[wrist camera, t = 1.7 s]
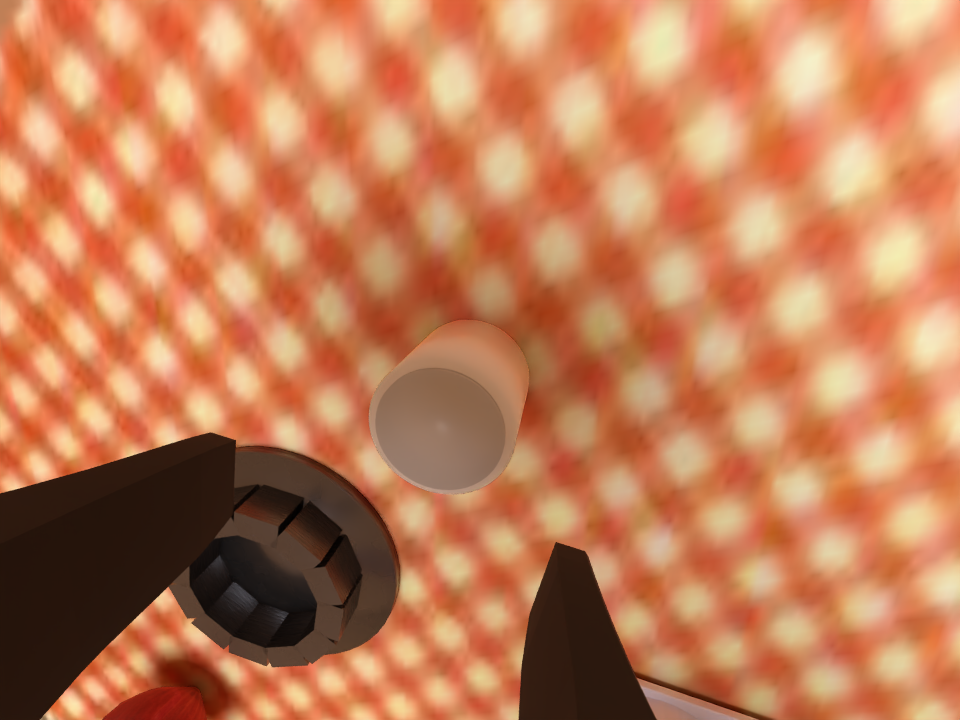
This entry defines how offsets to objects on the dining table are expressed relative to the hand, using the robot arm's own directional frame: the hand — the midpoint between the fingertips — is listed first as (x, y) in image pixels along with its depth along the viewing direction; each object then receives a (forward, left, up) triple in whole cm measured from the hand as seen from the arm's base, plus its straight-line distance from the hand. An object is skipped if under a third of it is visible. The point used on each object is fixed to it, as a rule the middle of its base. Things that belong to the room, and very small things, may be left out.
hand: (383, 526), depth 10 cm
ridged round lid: (+7, +12, -9) cm, 16 cm away
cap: (0, 0, -9) cm, 9 cm away
